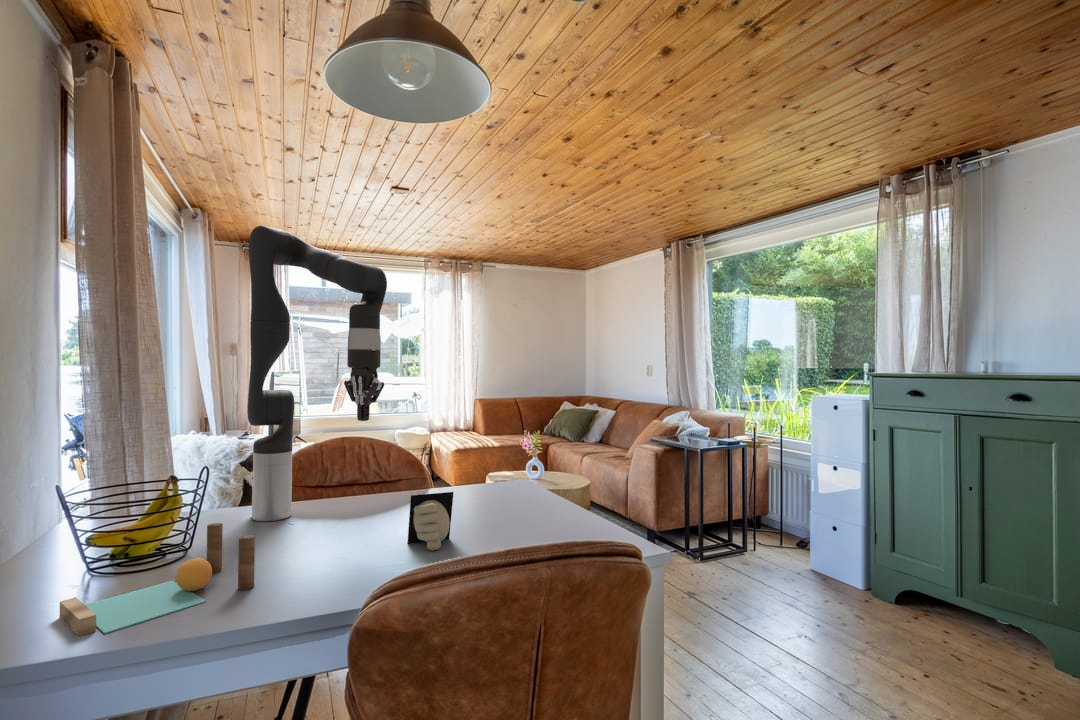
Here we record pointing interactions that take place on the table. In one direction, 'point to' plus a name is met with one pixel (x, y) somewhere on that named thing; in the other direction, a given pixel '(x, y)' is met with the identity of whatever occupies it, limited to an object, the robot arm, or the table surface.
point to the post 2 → (246, 562)
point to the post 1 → (215, 546)
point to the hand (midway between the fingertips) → (363, 420)
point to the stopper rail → (78, 616)
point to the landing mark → (141, 606)
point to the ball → (194, 574)
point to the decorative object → (430, 519)
